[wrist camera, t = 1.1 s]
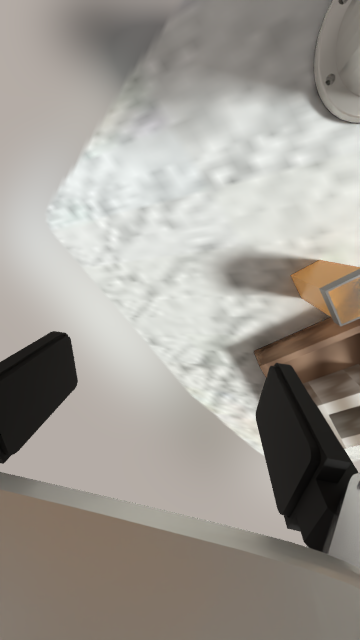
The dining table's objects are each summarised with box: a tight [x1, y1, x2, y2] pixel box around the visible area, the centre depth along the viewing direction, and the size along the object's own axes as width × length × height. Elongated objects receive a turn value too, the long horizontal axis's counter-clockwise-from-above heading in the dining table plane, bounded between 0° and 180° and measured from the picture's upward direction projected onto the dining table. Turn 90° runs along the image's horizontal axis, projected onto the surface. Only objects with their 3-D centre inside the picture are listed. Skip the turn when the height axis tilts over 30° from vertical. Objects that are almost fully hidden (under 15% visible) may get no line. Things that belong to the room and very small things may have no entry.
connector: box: [291, 260, 360, 326], centre depth 24 cm, size 4×4×10 cm
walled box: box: [254, 317, 360, 449], centre depth 31 cm, size 16×20×6 cm
